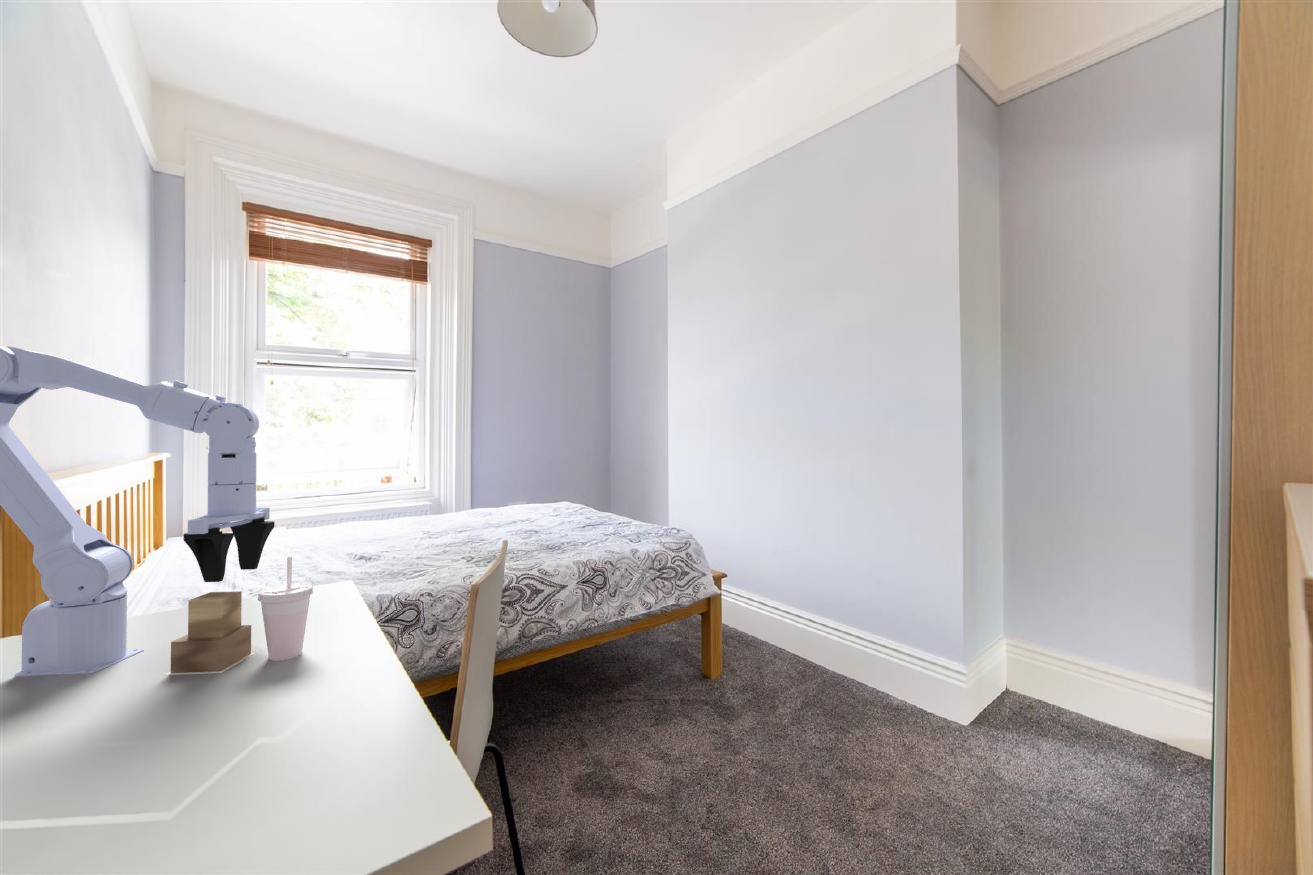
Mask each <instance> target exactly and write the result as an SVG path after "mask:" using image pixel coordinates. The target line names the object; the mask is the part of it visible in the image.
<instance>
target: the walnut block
mask: <svg viewBox="0 0 1313 875" xmlns="http://www.w3.org/2000/svg"><path fill="white" fill-rule="evenodd" d="M251 653H252V625H251V624H248V625H247V624H244V625H243V624H241V628H239V629H237V630H235V631H233V632H231V633H229V634H227V635H225V636H223V637H221V638H198V639H188V634H186V635H185V634H184V636H181V637H179V638H177V639H174V640H172V641H171V642H170V672H171V673H190V672H219V671H222V670H224V669H226V668H227V667H229V666H231V665H232V664H234V663H236V662H238V661H239V660H241V659H243V658H244V657H246V656H248V655H250V654H251Z"/></svg>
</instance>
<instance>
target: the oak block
mask: <svg viewBox="0 0 1313 875" xmlns="http://www.w3.org/2000/svg"><path fill="white" fill-rule="evenodd" d="M242 592H243V591H242V590H241V591H237V590H236V591H212V592H208V593H207V592H206V593H205V594H202V595H200V596H196V597H193V598H190V599H189V600H188V601H187V602H188V604H187V605H188V606H187V607H188V608H187V609H188V610H187V613H188V614H187V615H188V616H187V617H188V621H187V635H188V639H198V638H221V637H223V636H225V635H227V634H229V633H231V632H233V631H235V630H237V629H239V628H241V625H242V596H243V595H242Z"/></svg>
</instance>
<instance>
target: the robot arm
mask: <svg viewBox="0 0 1313 875" xmlns="http://www.w3.org/2000/svg"><path fill="white" fill-rule="evenodd" d="M188 386H189V385H188V384H187V383H185V382H183V381H179V380H174V381H173V383H171V382H169V381H165V380H164V381H160V382H156V383H153V384H148V385H146V384H142V383H140V382H137V381H134V380H131V379H128V378H125V377H122V376H119V375H116V374H114V373H113V374H112V373H110V372H106V371H104V370H102V369H98V368H95V367H92V366H89V365H86V364H83V363H81V362H80V363H79V362H77V361H74V360H71V359H69V358H68V359H67V358H64V357H60V356H58V355H52V354H48V353H43V352H38V351H34V350H29V349H24V348H18V347H13V346H6V347H5V346H2V345H1V346H0V507H1V508H2V509H3V510H4V511H5V512H6V514H7V515H8V516H9V517H10V519H11V520H12V521H13V522H14V523H15V524H16V526H17V527H18V528H19V529H20V530H21V532H22V533H23V534H24V535H25V537H26V538H27V539H28V540H29V541H30V543H31V544H32V546H33V554H32V564H33V565H34V567H35V568H36V569H37V570H38V572H39V575H40V585H41V589H42V592H43V593H44V594H45V595H46V597H47V598H49V599H50V600H46V601H44V602H42V603H39V604H38V605H36V606H35V607H33V608H32V609H31V610H29V612H28V613H27V615H26V616H25V619H24V621H23V623H22V626H21V627H22V629H21V666H20V667H21V671H19V672H16V673H14V678H16V677H32V676H52V675H53V676H56V675H57V676H59V675H81V674H84V675H85V674H94V673H97V672H100V671H103V670H104V669H106V668H108V667H111V666H113V665H115V664H118V663H120V662H122V661H124V660H126V659H129V658H131V657H133V656H136V655H139V654H140V653H142V652H144V651H145V649H144V648H127V633H128V632H127V628H128V626H127V625H128V621H127V620H128V589H127V588H126V587H125V585H124V583H123V582H124V581H125V580H126V579H128V577H129V576H131V574H132V571H133V569H134V566H135V565H134V558H133V556H132V554H131V553H130V552H129V551H128V550H127V549H126V548H124V547H122V546H120V545H117V544H114V542H112V541H110V540H109V539H108V538H107V536H106V535H105V534H104V533H103V532H102V531H99V529H97V528H95V527H93V526H90V525H89V524H88V523H87V522H85V520H84V519H83V518H82V517H81V515H80V514H79V513H78V512H77V510H76V509H75V508H74V506H73V505H72V504H71V502H70V501H69V500H68V499H67V498H66V496H65V495H64V494H63V493H62V491H61V490H60V489H59V487H58V486H57V484H55V482H54V480H53V479H51V477H50V476H49V475H48V473H47V472H46V471H45V469H43V467H42V466H41V464H39V462H38V461H37V460H36V458H35V457H34V456H33V454H32V453H31V452H30V450H28V448H27V447H26V446H25V445H24V443H23V442H22V441H21V440H20V439H19V437H18V436H17V433H16V434H15V432H14V431H13V429H12V428H11V427H10V426H9V425H10V421H11V420H12V418H13V417H14V415H15V413H16V411H17V410H18V409H19V407H20V406H22V405H23V404H24V403H26V402H27V401H28V400H29V399H30V398H32V397H33V396H34V395H35V394H37V393H38V392H39V391H40V390H41V389H45V390H49V391H50V390H51V391H52V390H58V389H59V390H60V389H63V388H72V389H75V390H80V391H82V392H86V393H90V394H93V395H97V396H101V397H104V398H108V399H112V400H116V401H119V402H123V403H126V404H130V405H134V406H136V407H138V409H139V410H140V411H141V414H142V415H143V416H144V418H146V419H147V420H150V421H153V422H154V421H155V422H158V423H161V424H165V425H167V426H172V427H176V428H178V429H182V430H186V431H188V432H193V433H196V434H203V433H205V434H207V436H208V444H209V445H208V446H209V447H208V453H207V514H206V515H202V516H200V517H197V518H196V517H195V518H193V519H192V518H191V519H188V520H187V532H185V533H183V538H182V539H183V540H182V541H183V542H184V543H185V544H186V545H187V546H188V548H189V549H190V550H191V552H192V553H193V555H194V558H195V559H196V561H197V565H198V567H199V569H200V573H201V576H202V578H203V582H204V583H219V582H222V581H223V580H224V577H225V573H226V566H227V556H228V552H229V548H230V546H231V543H232V541H233V539H235V542H236V546H237V547H236V548H237V555H238V556H237V558H238V565H239V567H240V570H242V571H244V570H245V571H246V570H247V571H248V570H257V569H258V567H259V565H260V561H261V557H262V553H263V550H264V547H265V545H266V541H267V540H268V538H269V537H270V534H271V532H272V531H273V530H274V528H275V526H276V525H275V520H273V521H271V520H270V507H257V453H256V446H257V442H256V437H255V435H256V434H257V432H258V431H259V427H260V420H259V418H258V415H257V414H256V413H255V412H254V411H253V410H252V409H251V408H249V407H247V406H244V405H243V404H241V403H234V402H233V403H232V402H227V403H226V400H227V398H226V397H225V396H222V395H220V394H217V395H215V396H212V395H209V394H206V393H203V392H200V391H197V390H194V389H190V388H188ZM269 520H270V521H269ZM227 528H230V530H231V532H223V531H222V530H221V529H227Z"/></svg>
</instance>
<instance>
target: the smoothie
mask: <svg viewBox="0 0 1313 875" xmlns="http://www.w3.org/2000/svg"><path fill="white" fill-rule="evenodd" d="M286 561H287V562H286V584H280V585H275V586H269V587H267V588H264V589H262V590H260V591H258V598H257V601H258V602H260V604H261V614H262V620H263V625H264V627H263V628H264V633H265V634H264V635H265V640H266V649H267V655H268V660H270V661H273V662H275V661H276V662H280V661H286V660H291V659H294V658H297V657H299V656H300V655H302V653H303V646H304V640H305V635H306V634H305V633H306V626H307V619H308V613H309V606H310V601H311V600H310V598H311V596H312V594H313V593H314V586H313V585H312V584H310V583H292V582H293V574H292V573H293V569H292V568H293V566H292V565H293V564H292V563H293V557H292V556H287V557H286Z"/></svg>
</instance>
